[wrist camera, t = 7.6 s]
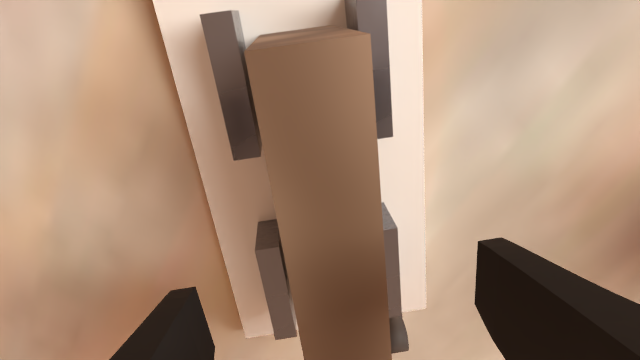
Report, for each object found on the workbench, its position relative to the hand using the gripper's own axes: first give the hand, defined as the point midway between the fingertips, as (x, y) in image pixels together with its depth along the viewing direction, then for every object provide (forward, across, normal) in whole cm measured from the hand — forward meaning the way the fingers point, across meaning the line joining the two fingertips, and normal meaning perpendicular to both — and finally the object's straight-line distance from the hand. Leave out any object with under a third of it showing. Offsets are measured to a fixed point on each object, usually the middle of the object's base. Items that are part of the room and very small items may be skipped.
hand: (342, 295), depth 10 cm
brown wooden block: (+8, 0, 0) cm, 8 cm away
